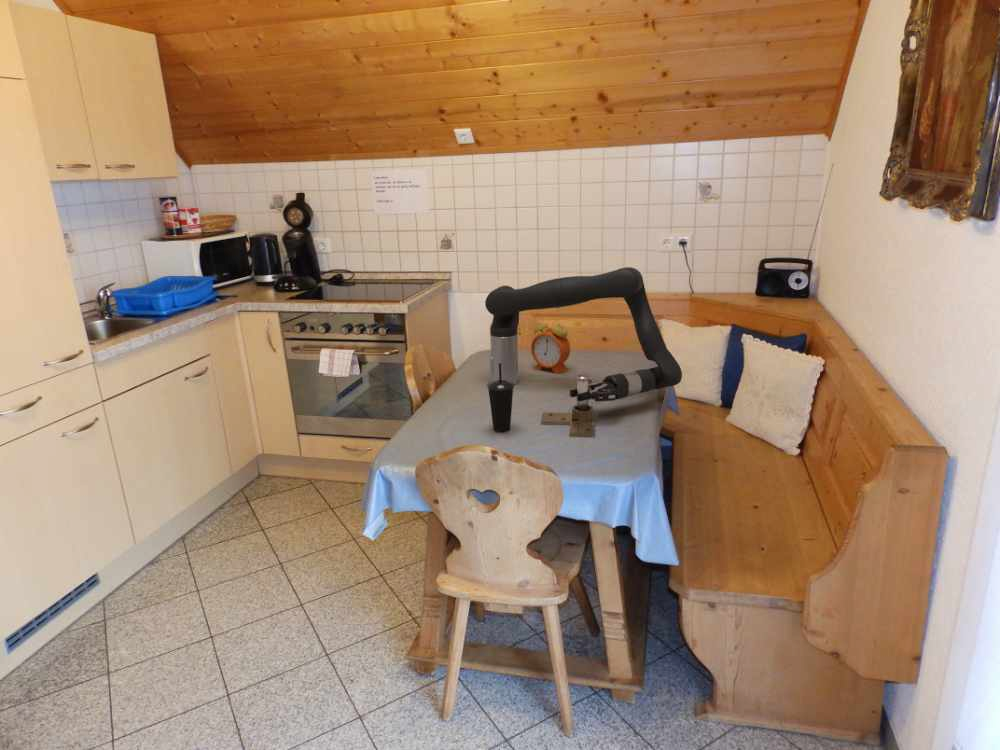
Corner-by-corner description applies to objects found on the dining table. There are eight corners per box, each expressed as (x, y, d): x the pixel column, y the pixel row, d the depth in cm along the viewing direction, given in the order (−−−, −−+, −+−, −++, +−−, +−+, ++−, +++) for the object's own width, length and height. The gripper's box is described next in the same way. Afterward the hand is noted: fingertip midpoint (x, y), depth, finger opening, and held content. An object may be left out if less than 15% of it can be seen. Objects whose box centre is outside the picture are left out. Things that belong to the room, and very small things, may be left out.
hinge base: (539, 435, 190) (538, 422, 188) (542, 415, 204) (542, 403, 203) (594, 437, 188) (594, 423, 186) (594, 416, 202) (594, 403, 201)
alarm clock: (530, 369, 247) (529, 316, 241) (539, 365, 252) (538, 312, 246) (562, 375, 240) (562, 320, 234) (570, 370, 245) (570, 316, 239)
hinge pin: (575, 417, 197) (576, 378, 194) (576, 412, 201) (576, 374, 197) (589, 417, 197) (589, 378, 193) (589, 412, 200) (589, 374, 197)
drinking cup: (506, 436, 190) (504, 369, 184) (483, 431, 194) (481, 365, 187) (520, 427, 196) (518, 361, 190) (497, 422, 200) (495, 358, 194)
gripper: (609, 367, 208) (561, 376, 200) (637, 379, 196) (587, 390, 188) (608, 390, 210) (561, 400, 203) (636, 404, 198) (587, 415, 191)
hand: (574, 395), depth 196 cm, fingers closed on hinge pin, 3 cm apart
